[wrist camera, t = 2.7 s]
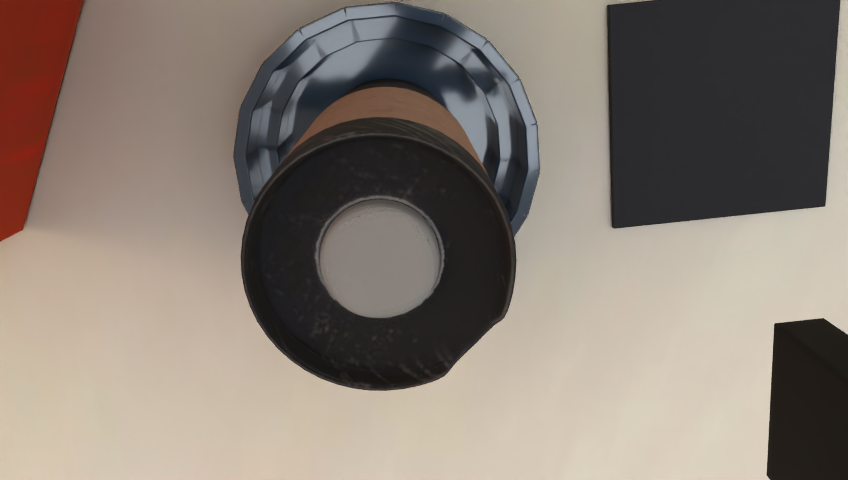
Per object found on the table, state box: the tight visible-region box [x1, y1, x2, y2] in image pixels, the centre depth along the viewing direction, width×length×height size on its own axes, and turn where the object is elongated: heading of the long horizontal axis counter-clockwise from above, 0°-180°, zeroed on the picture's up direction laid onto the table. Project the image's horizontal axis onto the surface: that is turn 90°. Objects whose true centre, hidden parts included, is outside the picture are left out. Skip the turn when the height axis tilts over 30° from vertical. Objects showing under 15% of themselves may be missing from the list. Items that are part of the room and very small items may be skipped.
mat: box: [607, 0, 840, 228], centre depth 38 cm, size 12×12×1 cm
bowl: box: [233, 2, 540, 237], centre depth 36 cm, size 14×14×6 cm
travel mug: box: [241, 78, 516, 391], centre depth 28 cm, size 8×8×20 cm
